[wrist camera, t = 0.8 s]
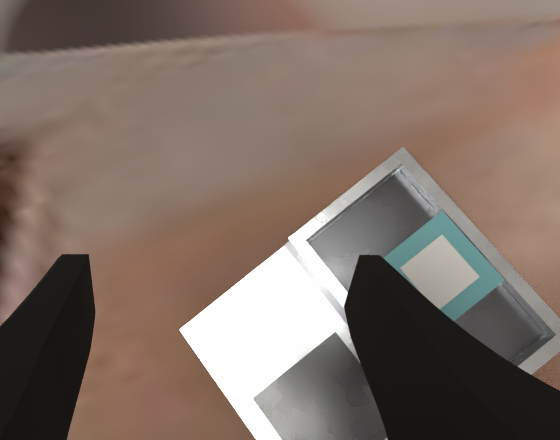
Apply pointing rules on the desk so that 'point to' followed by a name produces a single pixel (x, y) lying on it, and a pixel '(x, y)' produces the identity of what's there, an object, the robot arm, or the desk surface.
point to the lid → (286, 355)
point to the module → (445, 266)
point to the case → (401, 225)
